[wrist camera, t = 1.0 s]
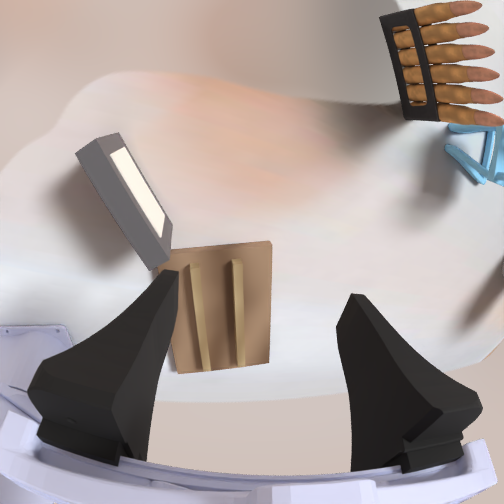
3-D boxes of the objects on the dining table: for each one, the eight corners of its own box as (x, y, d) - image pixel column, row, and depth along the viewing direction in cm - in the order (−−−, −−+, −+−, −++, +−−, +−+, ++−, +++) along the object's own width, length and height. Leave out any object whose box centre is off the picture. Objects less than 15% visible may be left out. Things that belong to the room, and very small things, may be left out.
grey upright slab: (156, 233, 26) (149, 271, 20) (102, 143, 22) (74, 153, 16) (173, 223, 26) (171, 259, 20) (119, 131, 22) (97, 137, 16)
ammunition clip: (417, 117, 27) (512, 133, 16) (404, 119, 26) (500, 137, 16) (393, 16, 22) (484, -6, 11) (378, 16, 22) (470, -10, 11)
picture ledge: (177, 367, 33) (178, 380, 31) (156, 250, 27) (155, 260, 25) (266, 356, 35) (271, 369, 33) (269, 240, 29) (275, 249, 27)
